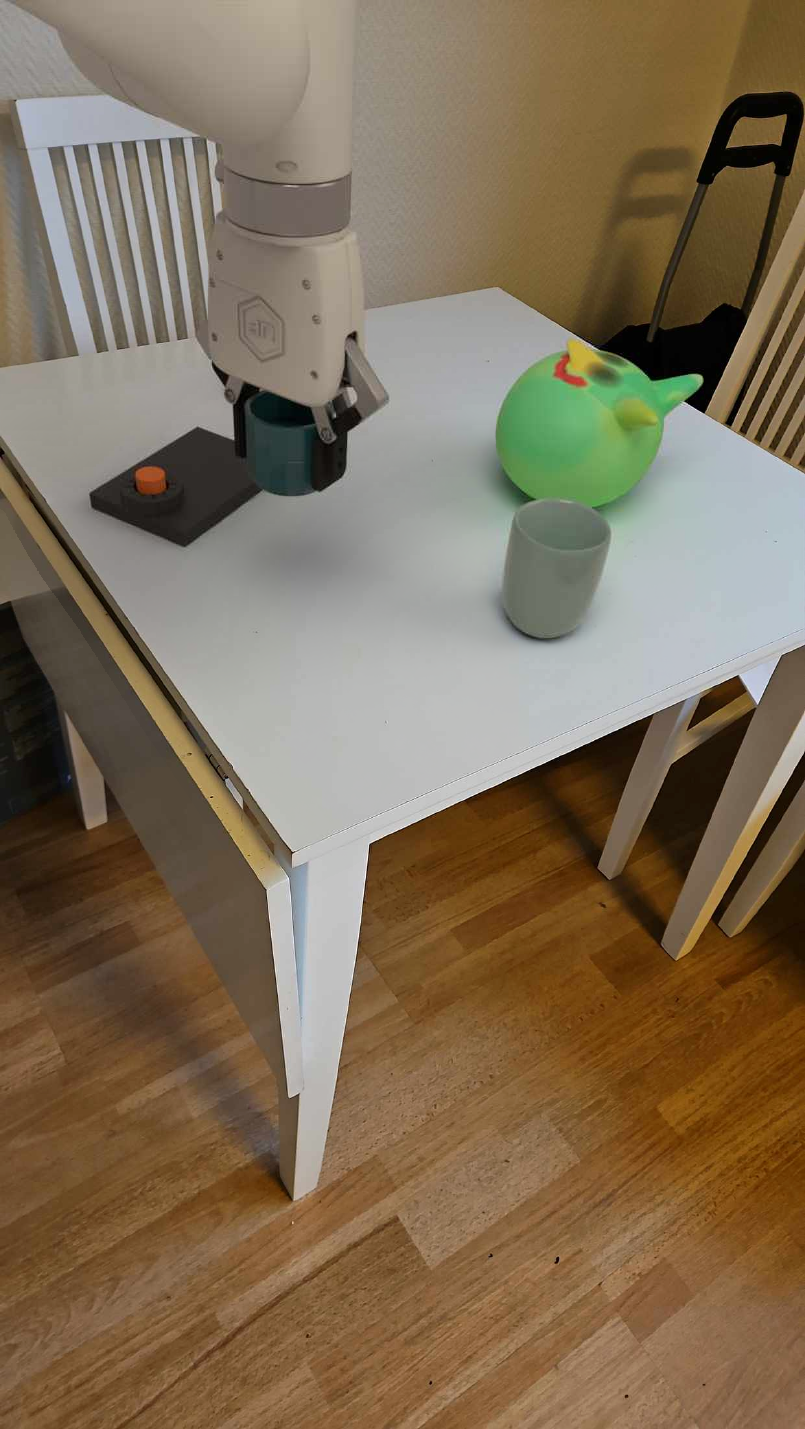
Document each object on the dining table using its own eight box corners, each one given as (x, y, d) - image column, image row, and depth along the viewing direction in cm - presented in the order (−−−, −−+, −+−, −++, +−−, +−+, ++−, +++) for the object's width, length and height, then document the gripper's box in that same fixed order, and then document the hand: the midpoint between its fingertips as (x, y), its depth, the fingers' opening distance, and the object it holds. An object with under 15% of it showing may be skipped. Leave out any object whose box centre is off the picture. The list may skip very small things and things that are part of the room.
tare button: (153, 499, 86) (151, 484, 85) (131, 490, 87) (129, 475, 86) (172, 487, 88) (170, 472, 87) (150, 478, 89) (148, 463, 88)
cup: (553, 587, 86) (576, 490, 79) (602, 639, 82) (631, 540, 75) (479, 605, 84) (496, 506, 77) (525, 660, 79) (547, 560, 72)
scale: (183, 548, 86) (180, 518, 84) (89, 508, 90) (84, 478, 87) (285, 473, 97) (285, 444, 94) (198, 440, 100) (196, 411, 98)
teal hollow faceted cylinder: (251, 501, 68) (248, 430, 64) (243, 457, 72) (241, 388, 68) (337, 498, 69) (340, 428, 65) (325, 454, 73) (327, 386, 69)
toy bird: (529, 433, 107) (554, 300, 96) (674, 480, 102) (716, 345, 92) (459, 505, 95) (479, 362, 85) (619, 562, 90) (661, 417, 80)
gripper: (137, 178, 58) (165, 446, 71) (370, 253, 52) (356, 532, 65) (219, 155, 63) (232, 411, 75) (442, 221, 57) (416, 487, 69)
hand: (289, 464), depth 70 cm, fingers closed on teal hollow faceted cylinder, 6 cm apart
